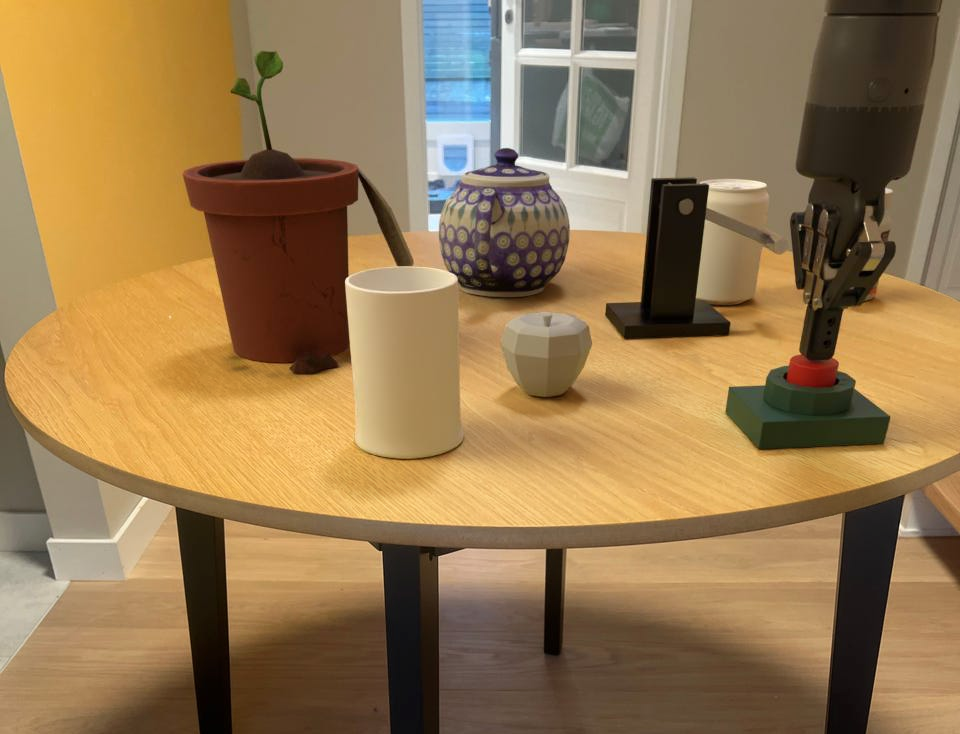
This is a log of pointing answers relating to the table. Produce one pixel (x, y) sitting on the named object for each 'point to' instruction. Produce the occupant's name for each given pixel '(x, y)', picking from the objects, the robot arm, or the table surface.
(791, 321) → the table surface
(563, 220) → the teapot
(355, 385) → the mug
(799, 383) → the button
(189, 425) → the table surface
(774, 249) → the lever
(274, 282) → the potted plant
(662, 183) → the bracket
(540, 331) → the apple
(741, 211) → the beverage can
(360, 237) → the table surface
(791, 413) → the button box
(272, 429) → the table surface
